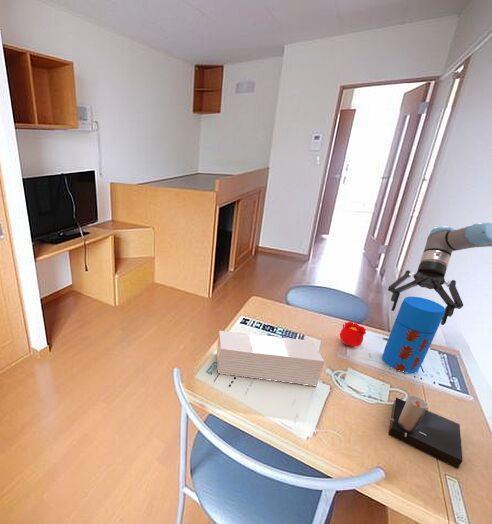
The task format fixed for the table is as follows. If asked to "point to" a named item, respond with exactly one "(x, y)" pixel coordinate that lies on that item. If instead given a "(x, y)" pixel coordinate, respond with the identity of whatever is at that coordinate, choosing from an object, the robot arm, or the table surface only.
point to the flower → (352, 334)
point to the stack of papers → (268, 357)
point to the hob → (430, 435)
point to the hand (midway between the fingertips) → (417, 316)
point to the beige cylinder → (412, 414)
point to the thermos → (412, 333)
